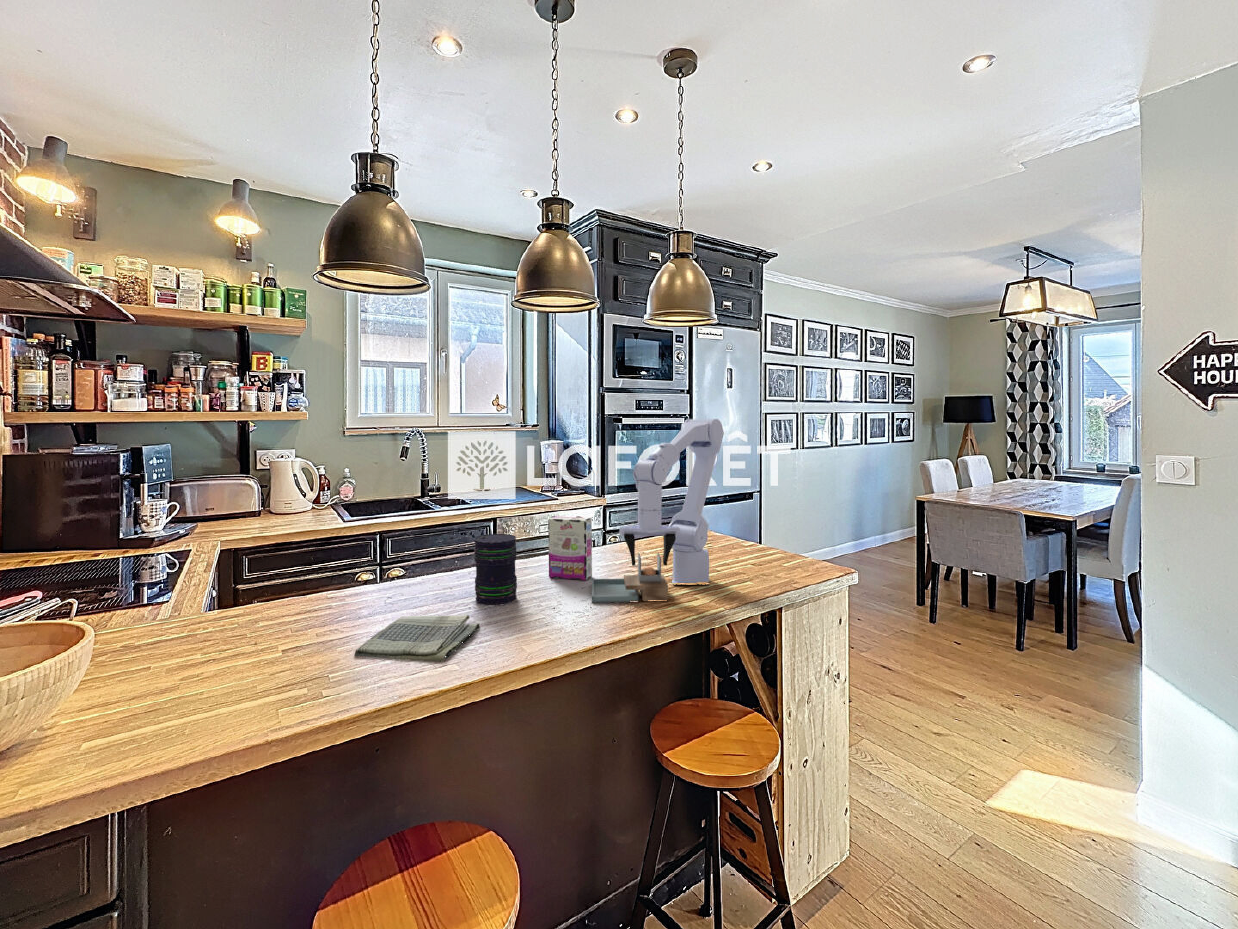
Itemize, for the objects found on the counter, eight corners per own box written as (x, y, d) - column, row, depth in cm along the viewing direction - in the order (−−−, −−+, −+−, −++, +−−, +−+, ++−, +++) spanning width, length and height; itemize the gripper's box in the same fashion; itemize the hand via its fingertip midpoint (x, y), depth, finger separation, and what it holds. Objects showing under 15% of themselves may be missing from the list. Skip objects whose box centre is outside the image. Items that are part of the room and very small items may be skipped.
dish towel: (351, 659, 106) (350, 642, 106) (400, 625, 124) (400, 610, 124) (447, 665, 104) (447, 648, 103) (484, 629, 121) (484, 614, 121)
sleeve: (658, 576, 145) (658, 553, 144) (661, 582, 140) (661, 558, 139) (637, 577, 145) (637, 553, 144) (639, 583, 140) (639, 558, 139)
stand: (663, 590, 147) (663, 575, 147) (667, 601, 138) (667, 585, 138) (623, 591, 147) (623, 575, 147) (625, 602, 138) (625, 585, 138)
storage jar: (521, 593, 144) (521, 534, 143) (510, 606, 135) (509, 542, 134) (482, 592, 145) (481, 533, 144) (468, 605, 136) (467, 541, 135)
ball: (655, 578, 144) (655, 565, 144) (656, 581, 141) (656, 568, 140) (642, 578, 144) (642, 565, 144) (643, 582, 141) (643, 568, 140)
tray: (634, 584, 152) (634, 578, 152) (638, 602, 137) (638, 596, 137) (592, 585, 152) (592, 579, 152) (591, 603, 137) (591, 596, 137)
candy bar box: (592, 576, 160) (592, 517, 159) (586, 581, 156) (586, 520, 154) (555, 573, 164) (554, 515, 162) (547, 577, 159) (547, 518, 158)
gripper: (620, 511, 137) (620, 568, 138) (682, 511, 137) (681, 568, 138) (619, 507, 144) (619, 561, 145) (677, 507, 144) (677, 561, 145)
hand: (649, 564), depth 142 cm, fingers open, 7 cm apart
